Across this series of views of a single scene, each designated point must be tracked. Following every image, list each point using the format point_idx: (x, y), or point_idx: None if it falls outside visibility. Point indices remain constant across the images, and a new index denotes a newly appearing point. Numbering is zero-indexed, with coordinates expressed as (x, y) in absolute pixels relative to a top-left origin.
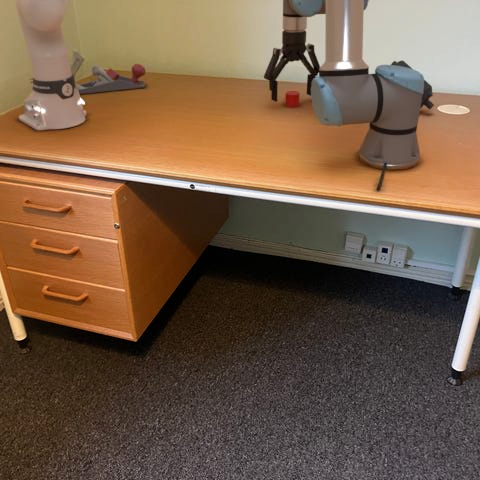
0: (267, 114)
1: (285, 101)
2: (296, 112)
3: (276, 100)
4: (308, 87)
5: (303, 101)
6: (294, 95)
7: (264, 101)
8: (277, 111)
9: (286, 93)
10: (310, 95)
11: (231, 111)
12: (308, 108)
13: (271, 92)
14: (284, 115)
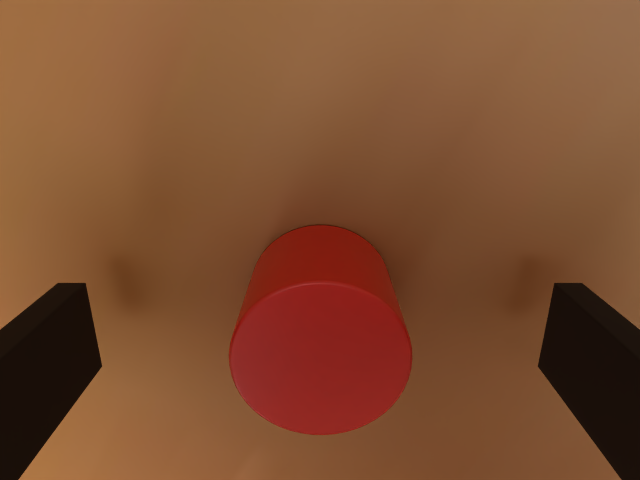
0: None
1: (248, 286)
2: (255, 456)
3: (88, 372)
4: (597, 364)
5: (484, 245)
6: (301, 426)
7: (87, 33)
8: (114, 377)
9: (233, 355)
10: (540, 361)
11: None
12: (398, 423)
13: (2, 330)
14: (135, 471)
